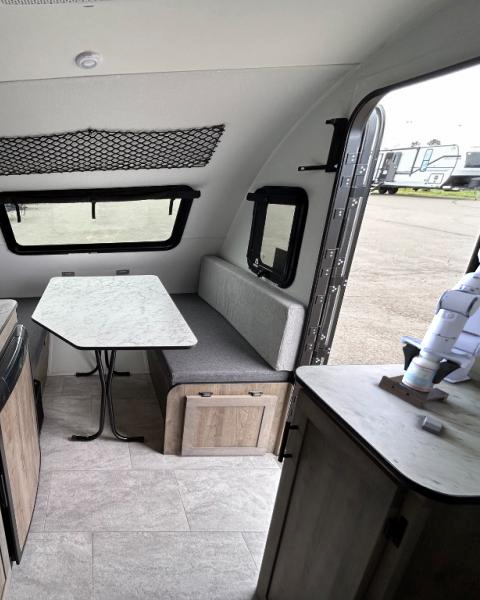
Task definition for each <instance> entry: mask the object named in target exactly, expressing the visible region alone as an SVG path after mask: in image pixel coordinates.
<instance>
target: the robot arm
mask: <svg viewBox="0 0 480 600" xmlns="http://www.w3.org/2000/svg"><path fill="white" fill-rule="evenodd" d="M477 256H478V262H480V249H479V250H478V253H477ZM433 315H434V317H433V319H432V322H431V323H430V325H429V327H428V329H427V331H426V333H425V336H424V337H423V338H422V340H421V339H418V338H414V337H411V336H408V335H403V336H401V338H400V340H399V343H401V344H403V345H404V346H402V352H403V353H402V354H403V357H404V365H403V370H404V371H407V369H408V367H409V365H410V363H411V361H412V359H413V358H414V357H415V356H417V355H420V351H421V349H422V351H425V352H427V353H432V354H435V355H438V356H442V357H443V358H442V359H443V360H442V361H440V366H439V369H438V372H437V374H436V376H435V377H434V379H433V381H432V383H433V384H434V385H439V384H440V383H441V382H442V381H443V380H444V381H446V382H449V383H451V384H455V383H459V382H464V381H468V380H471V377H470V376H468V374H469V372H470V370H471V369H472V367H473V365H474V364H475V362H476V357H480V265H479V266H478V267H477V269H476V270H475V272H469V273H465V275H464V276H462V278H461V279H460V280H459V281H458V282H457V284H456V285H454V286H453V288H451V289H450V290H445V291H444V292H443V293H442V294H441V296H440V297H439V299H438V301H437V304H436V308H435V311H434V313H433Z"/></svg>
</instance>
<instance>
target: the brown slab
mask: <svg viewBox="0 0 480 600" xmlns="http://www.w3.org/2000/svg"><path fill="white" fill-rule="evenodd" d="M404 375H405V374H402V375H401V374H400V375H396V376H391V377H389V376H387V375H382V376H381V378H380V381H379V383H378V387H379V388H381V390H382V389H383V390H384V391H386V392H387V393H389V394H392V395H394V396H396V397H397V398H399V399H401V400H403V401H405V402H406V403H409V404H410V405H412V406H414V407H416V408H418V409H420V408H421V409H422V408H423V407H424V405H425V404H426V403H427V402H431V401H435V400H436V401H439V402H441V403H443V402H446V401H447V399H448V398H449V396H450V393H448V392H446V391H444V390H442V389H440V388H438V387H434V386H435V385H434V386H433V388H432V390H431V391H429V392H423V391H418V390H415V389H412V388H410V387H409V386H407V385H405V384H404V383H403V381H402V380H403V378H404Z"/></svg>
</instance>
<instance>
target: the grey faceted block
mask: <svg viewBox="0 0 480 600" xmlns="http://www.w3.org/2000/svg"><path fill="white" fill-rule="evenodd" d="M420 428H421V429H422V430H424V431H427V432H429V433H432V434H434V435H436V436H439V434H440V432H441V430H442V428H443V422H442V421H439V420H436V419H435V418H431V417H430V416H427V415H424V416H423V417H422V422H421V426H420Z"/></svg>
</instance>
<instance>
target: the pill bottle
mask: <svg viewBox="0 0 480 600" xmlns="http://www.w3.org/2000/svg"><path fill="white" fill-rule="evenodd" d="M442 358H443V357H442V356H438V355H435V354H432V353H427V352H425V351H422V349H421V351H420V355H417V356H415V357H414V358H413V359H412V361H411V363H410V365H409V367H408V369H407V371H406V372H405V374H403V375H404V378H403V380H402V381H403V383H404V384H405V385H407V386H409V387H410V388H412V389H415V390H418V391H423V392H429V391H431V390H432V388H434V387H433V386H435V384H433V383H432V381H433V379H434V377H435V376H436V374H437V372H438V369H439V366H440V361H442V360H443V359H442Z"/></svg>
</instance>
